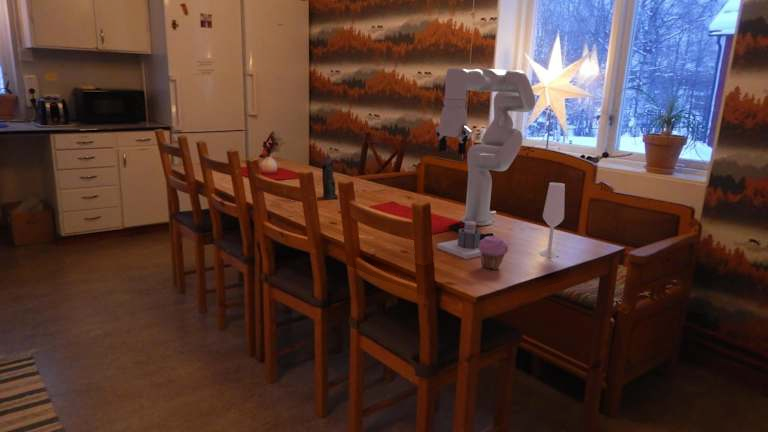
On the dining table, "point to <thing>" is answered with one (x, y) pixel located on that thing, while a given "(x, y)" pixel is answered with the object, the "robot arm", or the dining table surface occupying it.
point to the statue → (328, 179)
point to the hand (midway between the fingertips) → (451, 152)
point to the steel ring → (468, 239)
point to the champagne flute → (553, 213)
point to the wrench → (457, 227)
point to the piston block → (459, 251)
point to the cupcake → (492, 251)
